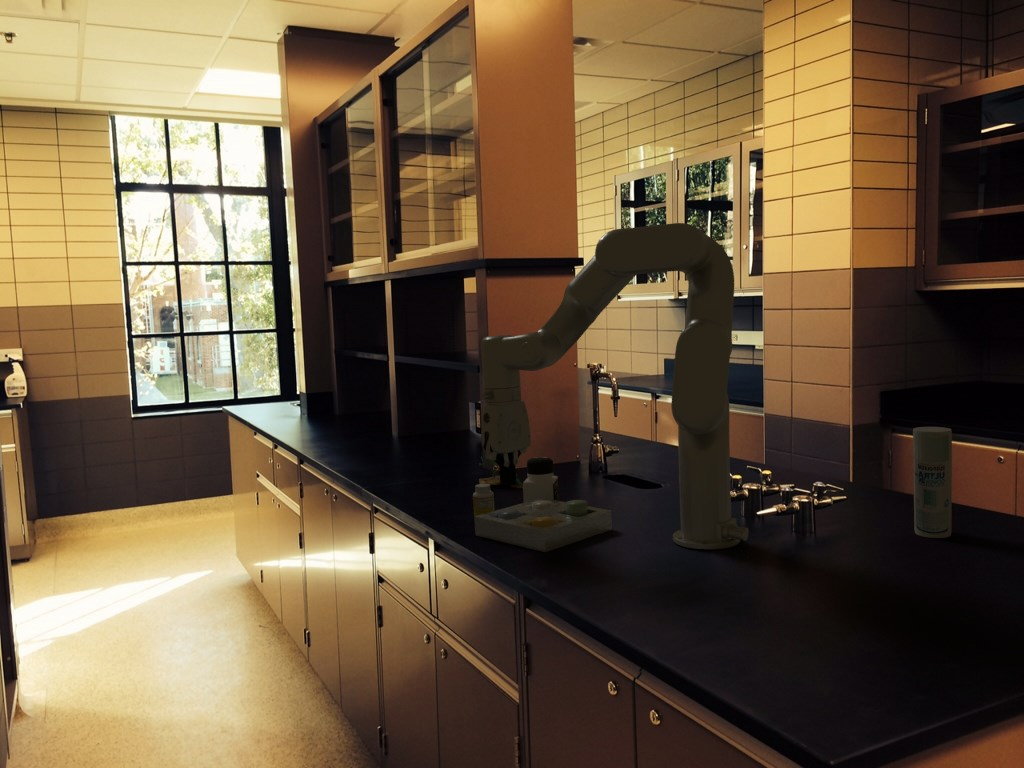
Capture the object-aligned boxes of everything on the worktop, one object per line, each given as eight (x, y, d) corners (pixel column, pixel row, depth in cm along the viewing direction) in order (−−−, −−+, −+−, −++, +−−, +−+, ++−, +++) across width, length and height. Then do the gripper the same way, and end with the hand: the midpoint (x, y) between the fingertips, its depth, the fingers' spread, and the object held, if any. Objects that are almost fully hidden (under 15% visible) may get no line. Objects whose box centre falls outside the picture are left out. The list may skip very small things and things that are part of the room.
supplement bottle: (480, 519, 184) (478, 482, 183) (498, 520, 182) (496, 483, 181) (470, 524, 180) (468, 486, 179) (489, 526, 178) (487, 487, 177)
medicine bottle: (555, 513, 186) (552, 461, 185) (523, 513, 188) (521, 461, 187) (559, 505, 193) (557, 455, 192) (529, 505, 195) (527, 455, 194)
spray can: (953, 530, 157) (952, 427, 156) (951, 539, 152) (951, 432, 150) (915, 527, 161) (914, 426, 159) (912, 536, 155) (911, 431, 153)
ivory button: (557, 520, 178) (556, 502, 177) (543, 524, 175) (542, 506, 174) (542, 517, 181) (541, 499, 180) (528, 521, 178) (527, 503, 177)
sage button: (592, 520, 170) (591, 501, 170) (578, 525, 167) (577, 505, 167) (576, 517, 173) (575, 498, 173) (562, 522, 170) (561, 503, 170)
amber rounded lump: (559, 538, 163) (558, 518, 163) (544, 543, 160) (543, 523, 160) (543, 535, 167) (542, 515, 166) (528, 539, 164) (527, 520, 163)
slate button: (524, 530, 171) (523, 511, 170) (509, 535, 168) (508, 516, 167) (509, 527, 174) (508, 508, 174) (494, 531, 171) (493, 512, 170)
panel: (612, 529, 170) (611, 510, 170) (545, 552, 157) (544, 531, 156) (542, 515, 185) (541, 497, 184) (475, 535, 171) (474, 516, 171)
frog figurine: (499, 493, 210) (493, 435, 210) (468, 489, 226) (462, 436, 226) (531, 487, 215) (525, 431, 215) (498, 484, 231) (492, 431, 231)
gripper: (487, 400, 160) (494, 493, 162) (541, 392, 171) (546, 479, 172) (462, 399, 166) (469, 489, 167) (516, 391, 176) (521, 476, 178)
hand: (508, 484), depth 170 cm, fingers closed
